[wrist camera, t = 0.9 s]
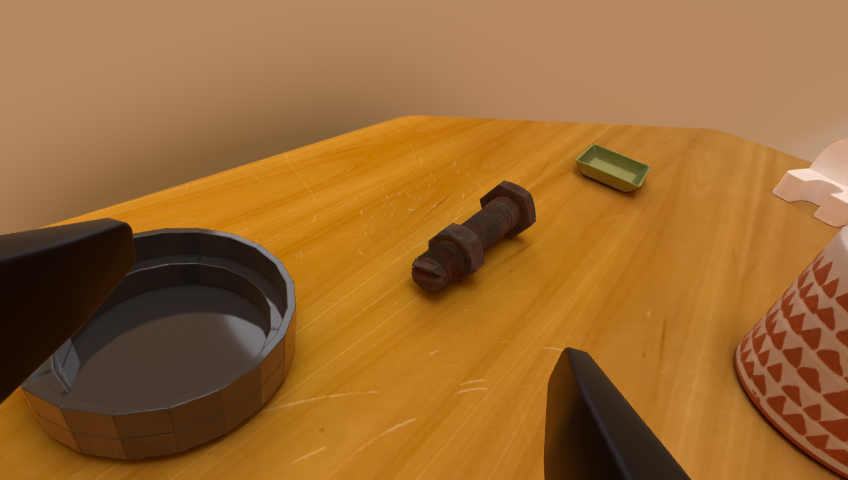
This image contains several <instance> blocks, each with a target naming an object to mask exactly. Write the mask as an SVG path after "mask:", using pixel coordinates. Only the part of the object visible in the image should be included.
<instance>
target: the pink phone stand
mask: <svg viewBox="0 0 848 480" xmlns="http://www.w3.org/2000/svg"><path fill="white" fill-rule="evenodd" d="M772 192H773V194H775V195H776V196H778V197H780V198H782V199H784V200H785V201H787V202H792V201H798V200H805V201H809V202H812V203H814V204H816V205H818V206H820V207H819V208H818V209H817V211H816V212H815V213H814V214H813V215H812V216H814V217H816V218H817V219H819V220H821V221H823V222H825V223H827V224H829V225H831V226H835V227H839V226H844V225H848V138H845V139H842V140H840V141H837V142H835V143H833V144H832V145H830V146H828V147H827V148H826V149H825V150H824V151H823V152H822V153H821V154H820V155H819V156H818V157H817V159H816V160H815V161H814V163H813V164H812V165H811V166H810V168H809V169H799V170H789V171H787V172H786V174H785V175H784V177H783V178H782V179H781V181H780V182H779V183H778V185H777V186H776V187H775V189H774V190H773V191H772Z"/></svg>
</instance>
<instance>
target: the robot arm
mask: <svg viewBox="0 0 848 480" xmlns="http://www.w3.org/2000/svg"><path fill="white" fill-rule="evenodd" d="M134 263H135V249H134V241H133V233H132V228H131V227H130V225H129V224H127V223H125V222H122V221H118V220H114V219H110V218H104V219H98V220H92V221H86V222H79V223H73V224H67V225H61V226H55V227H48V228H42V229H36V230H30V231H24V232H17V233H11V234H5V235H0V404H1V403H2V402H4V401H5V400H6V399H7V398H8V397H9V396H10V395H11V394H12V393H13V392H14V391H15V390H16V389H17V388H18V387H19V386H20V385H21V384H22V383H23V382H24V381H25V380H27V379H28V378H29V377H30V376H31V375H32V374H33V373H34V372H35V371H36V370H37V369H38V368H39V367H40V366H41V365H42V364H43V363H44V362H45V361H46V360H47V359H48V358H50V357H51V356H52V355H53V354H54V353H55V352H56V351H57V350H58V349H59V348H60V347H61V346H62V345H63V344H64V343H65V342H66V341H67V340H68V339H69V338H70V337H71V336H73V335H74V334H75V333H76V332H77V331H78V330H79V329H80V328H81V327H82V326H83V324H84V323H85V322H86V321H87V320H88V319H89V318H90V317H91V316H92V314H93V313H94V312H95V311H96V310H97V309H98V307H99V306H100V305H101V304H102V303H103V302H104V300H105V299H106V298H107V297H108V296H109V295H110V293H111V292H112V291H113V290H114V289H115V288H116V286H117V285H118V284H119V283H120V282H121V281H122V280H123V278H124V277H125V276H126V275H127V274H128V273H129V271H130V270H131V269H132V267H133V265H134ZM544 477H545V480H691V479H690V477H689V476H688V475H687V474H686V472H685V471H684V470H683V469H682V468H681V466H680V465H679V464H678V463H677V461H676V460H675V459H674V458H673V457H672V455H671V454H670V453H669V452H668V450H667V449H666V448H665V447H664V446H663V444H662V443H661V442H660V441H659V439H658V438H657V437H656V436H655V435H654V433H653V432H652V431H651V430H650V428H649V427H648V426H647V425H646V424H645V422H644V421H643V420H642V419H641V417H640V416H639V415H638V414H637V413H636V411H635V410H634V409H633V408H632V406H631V405H630V404H629V403H628V401H627V400H626V399H625V398H624V397H623V395H622V394H621V393H620V392H619V390H618V389H617V388H616V387H615V386H614V384H613V383H612V382H611V381H610V379H609V378H608V377H607V376H606V375H605V373H604V372H603V371H602V370H601V368H600V367H599V366H598V365H597V364H596V362H595V361H594V360H593V359H592V357H591V356H590V355H589V354H588V353H587V352H584V351H581V350H577V349H573V348H570V347H568V348H565V349H564V350H563V352H562V353H561V355H560V358H559V360H558V362H557V364H556V366H555V368H554V370H553V372H552V374H551V376H550V379H549V383H548V390H547V408H546V426H545V445H544Z"/></svg>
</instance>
